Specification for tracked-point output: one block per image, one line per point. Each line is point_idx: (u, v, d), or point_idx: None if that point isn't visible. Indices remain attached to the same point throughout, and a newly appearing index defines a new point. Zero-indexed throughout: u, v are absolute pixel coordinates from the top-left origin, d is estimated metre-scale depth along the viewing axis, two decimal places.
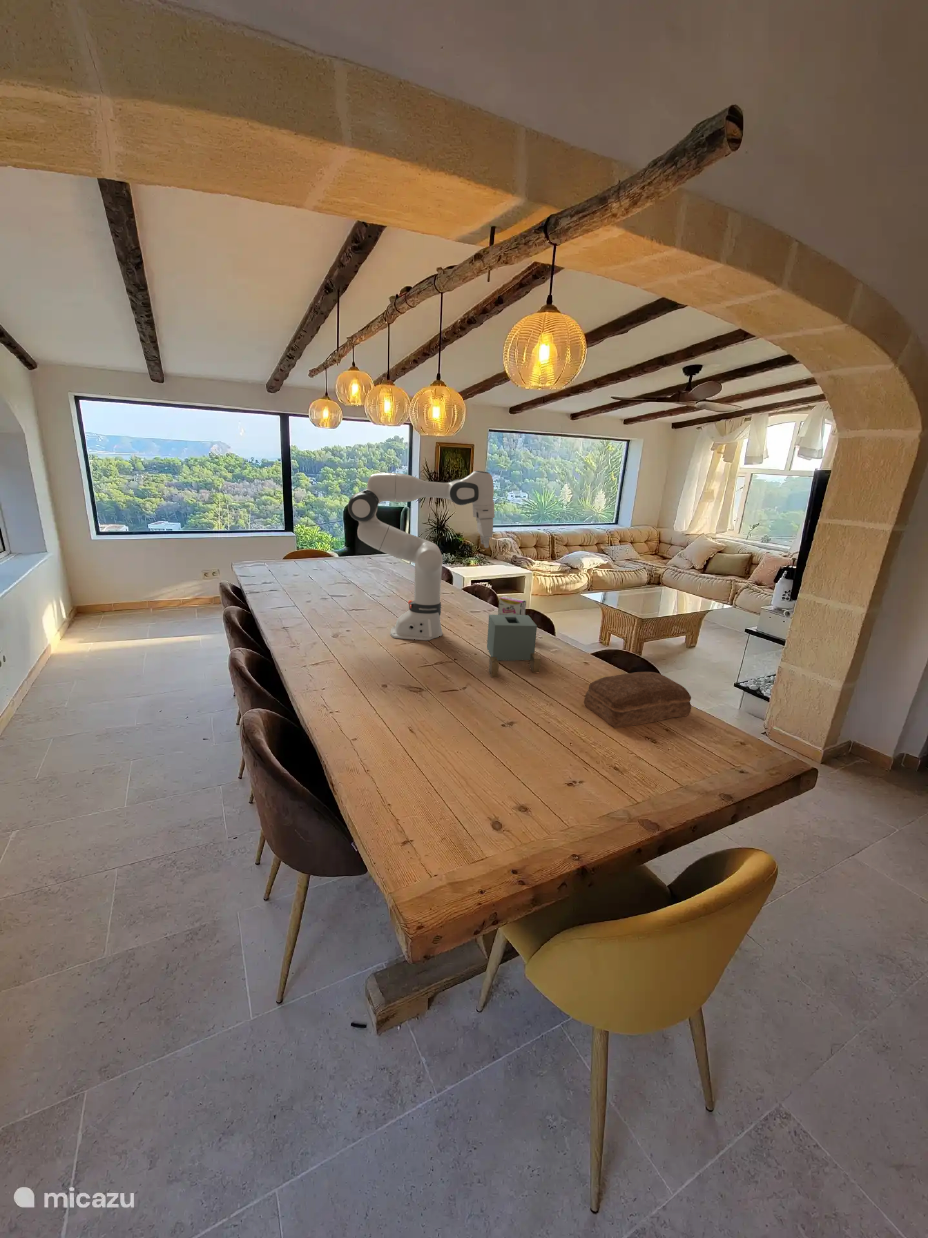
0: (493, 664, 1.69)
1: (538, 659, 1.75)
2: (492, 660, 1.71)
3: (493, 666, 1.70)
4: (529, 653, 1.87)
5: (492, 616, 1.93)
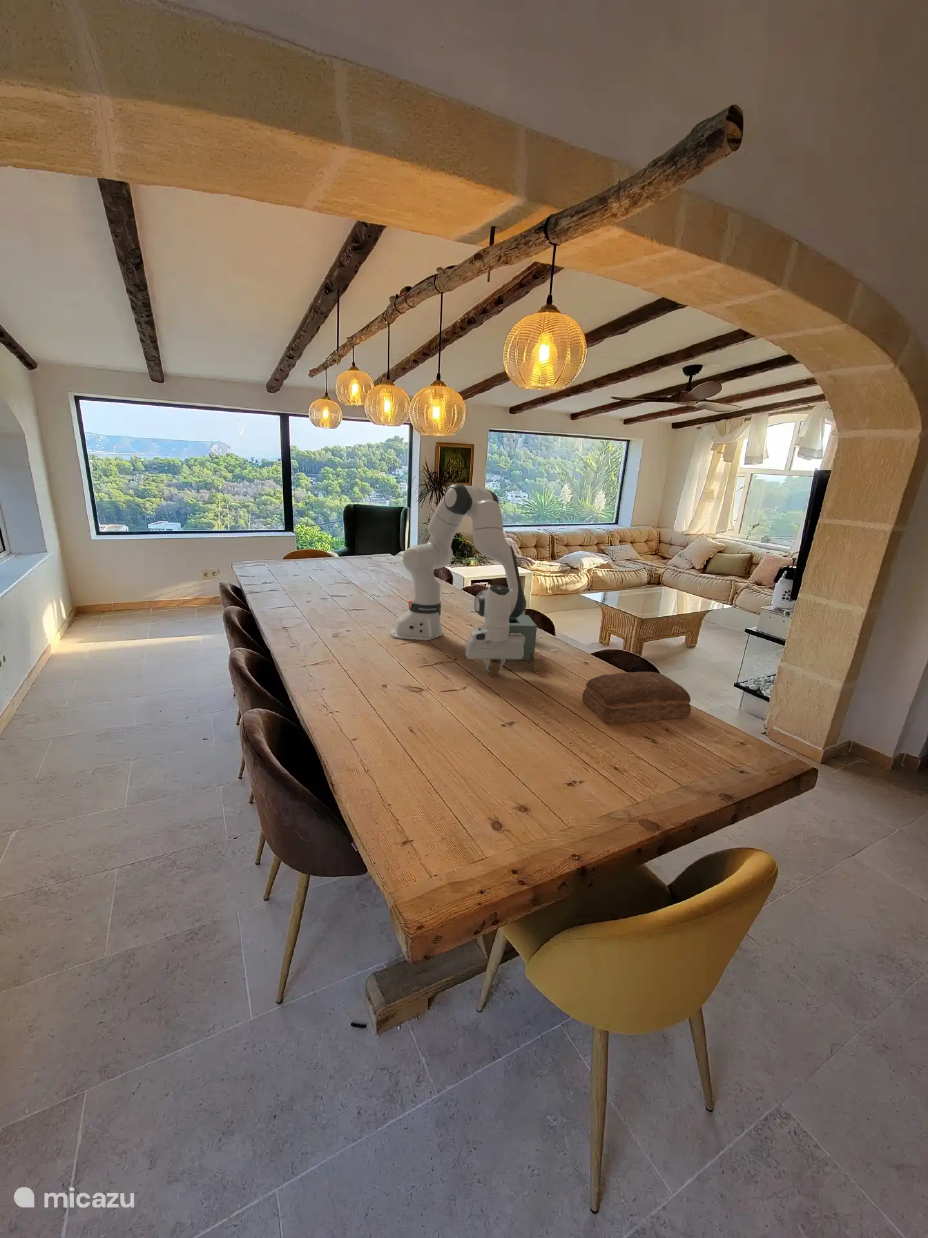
0: (493, 664, 1.69)
1: (538, 659, 1.75)
2: (492, 660, 1.71)
3: (493, 666, 1.70)
4: (529, 653, 1.87)
5: None
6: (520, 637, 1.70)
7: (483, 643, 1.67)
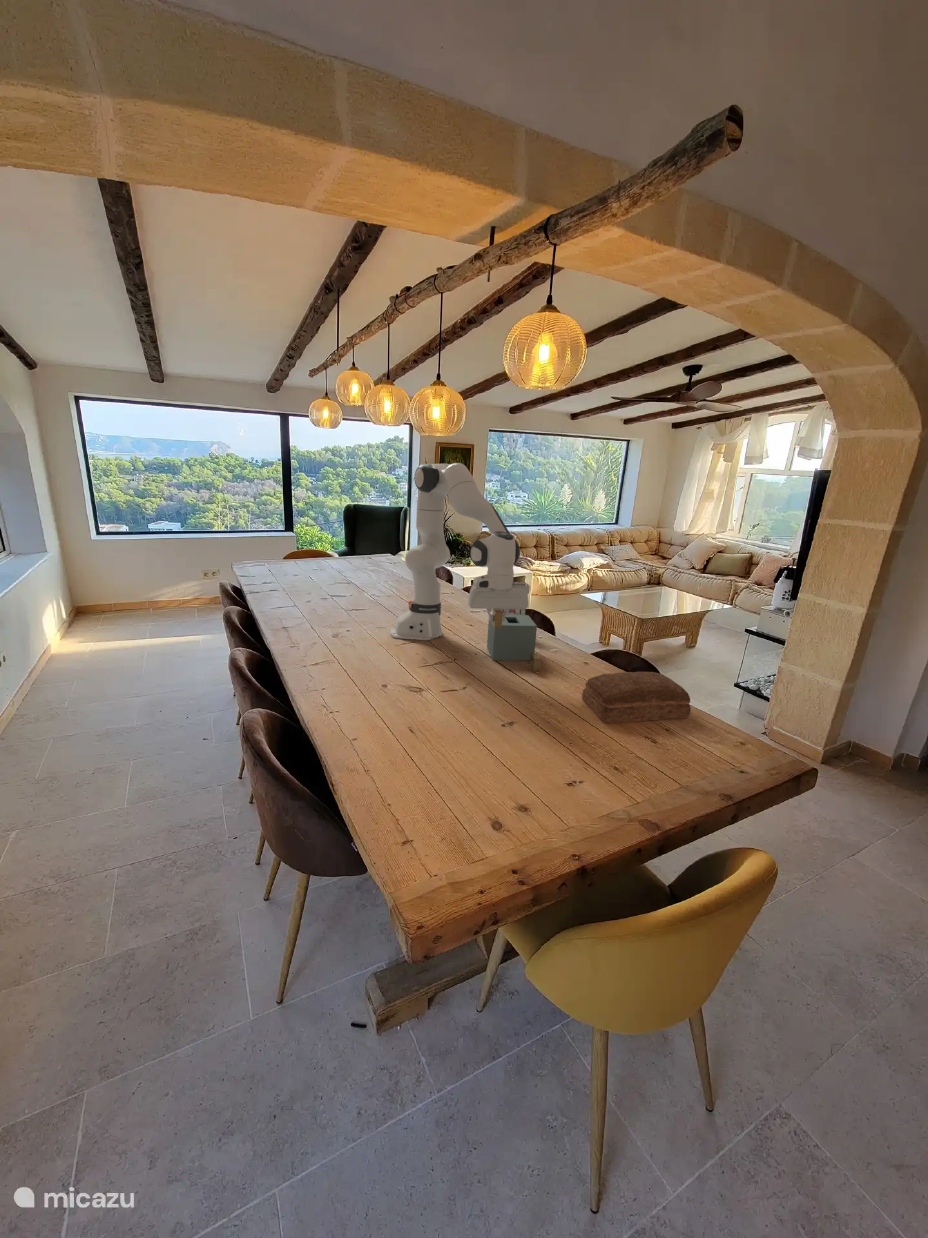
0: (496, 614, 1.64)
1: (538, 659, 1.75)
2: (495, 610, 1.66)
3: (496, 616, 1.64)
4: (529, 653, 1.87)
5: None
6: (524, 586, 1.65)
7: (486, 591, 1.62)
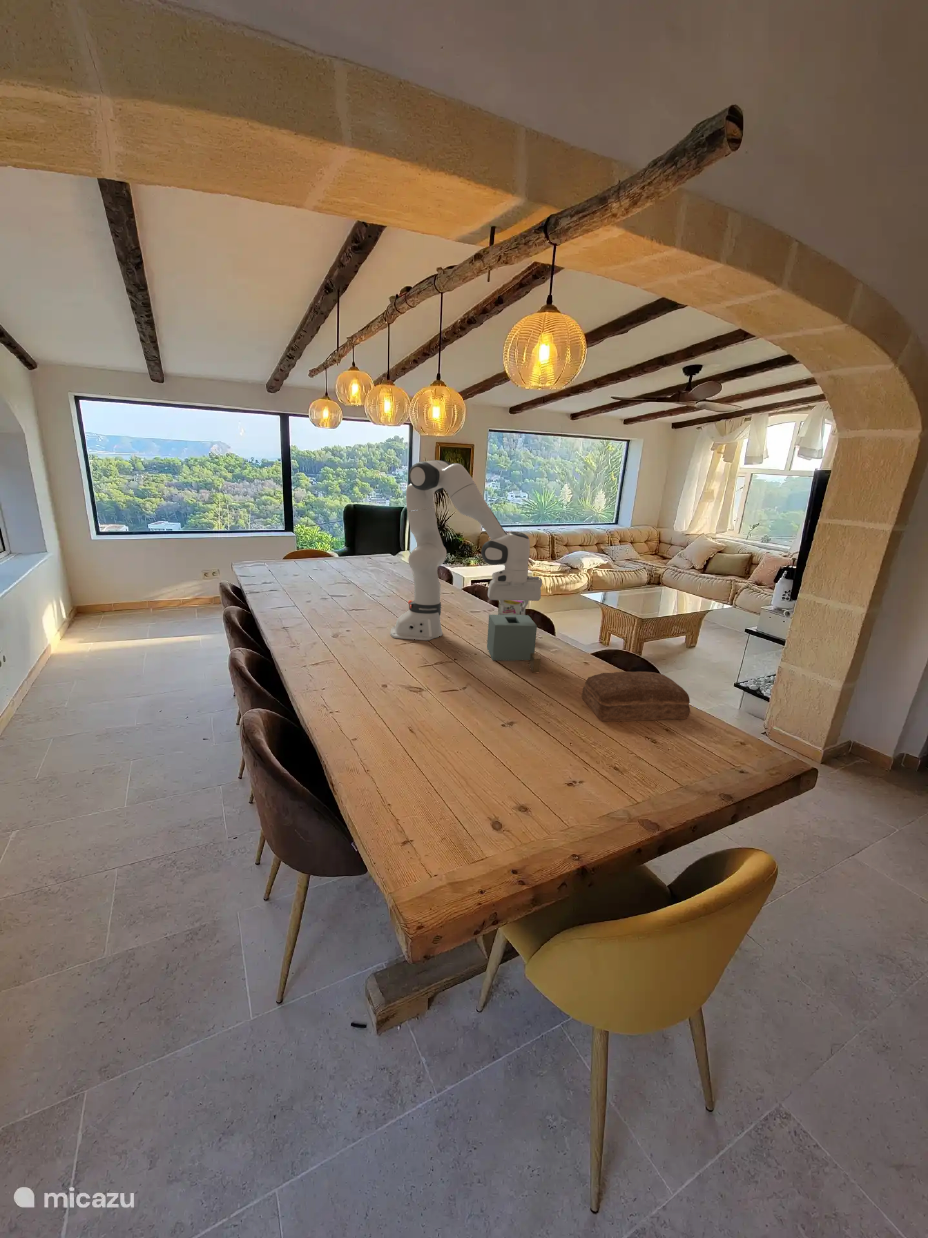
0: None
1: (538, 659, 1.75)
2: None
3: None
4: (529, 653, 1.87)
5: (492, 616, 1.93)
6: (538, 580, 1.86)
7: (504, 585, 1.83)
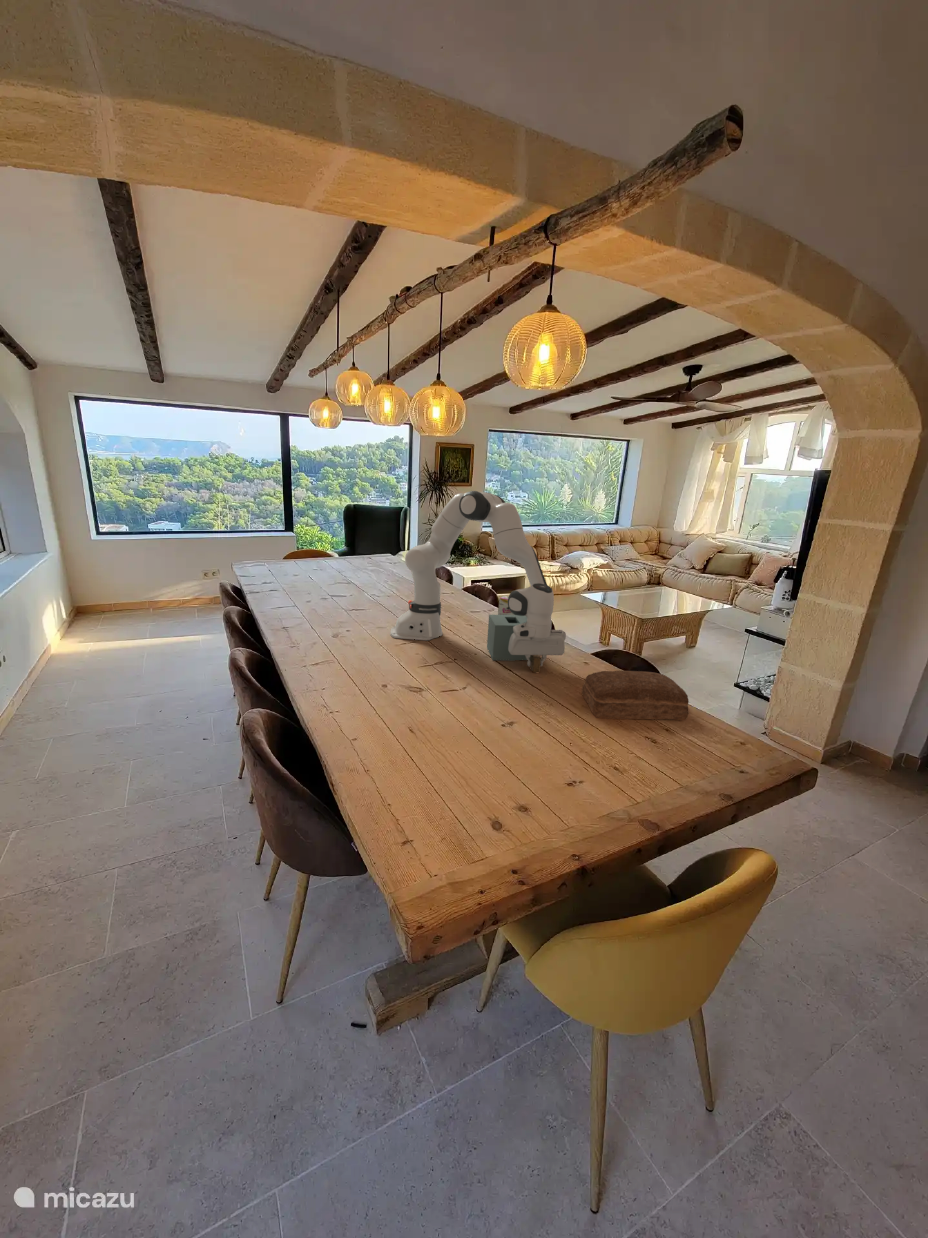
0: None
1: (538, 659, 1.75)
2: None
3: None
4: None
5: (492, 616, 1.93)
6: (561, 634, 1.76)
7: (526, 640, 1.73)
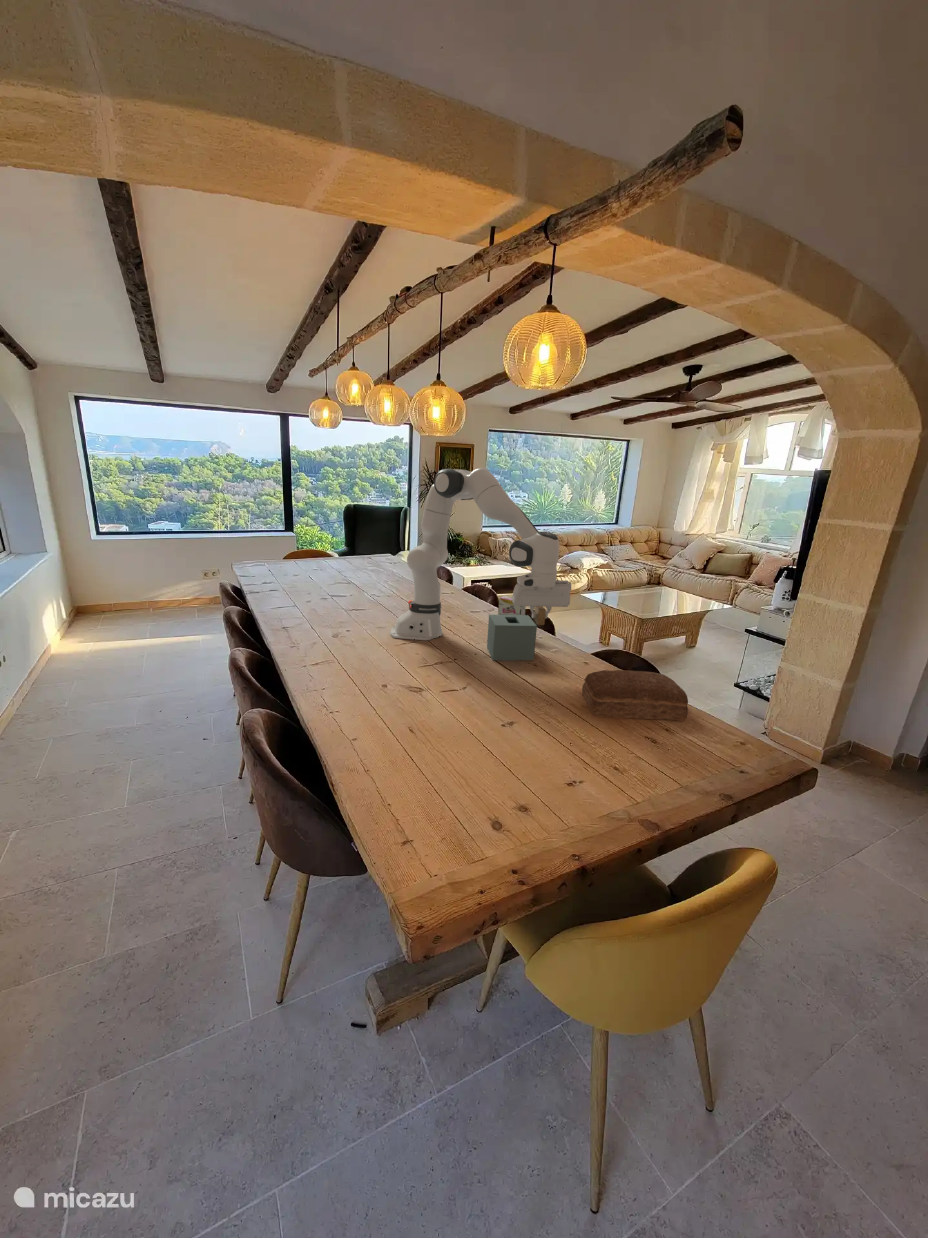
0: None
1: (543, 610, 1.70)
2: None
3: None
4: (529, 653, 1.87)
5: (492, 616, 1.93)
6: (567, 584, 1.71)
7: (530, 589, 1.68)
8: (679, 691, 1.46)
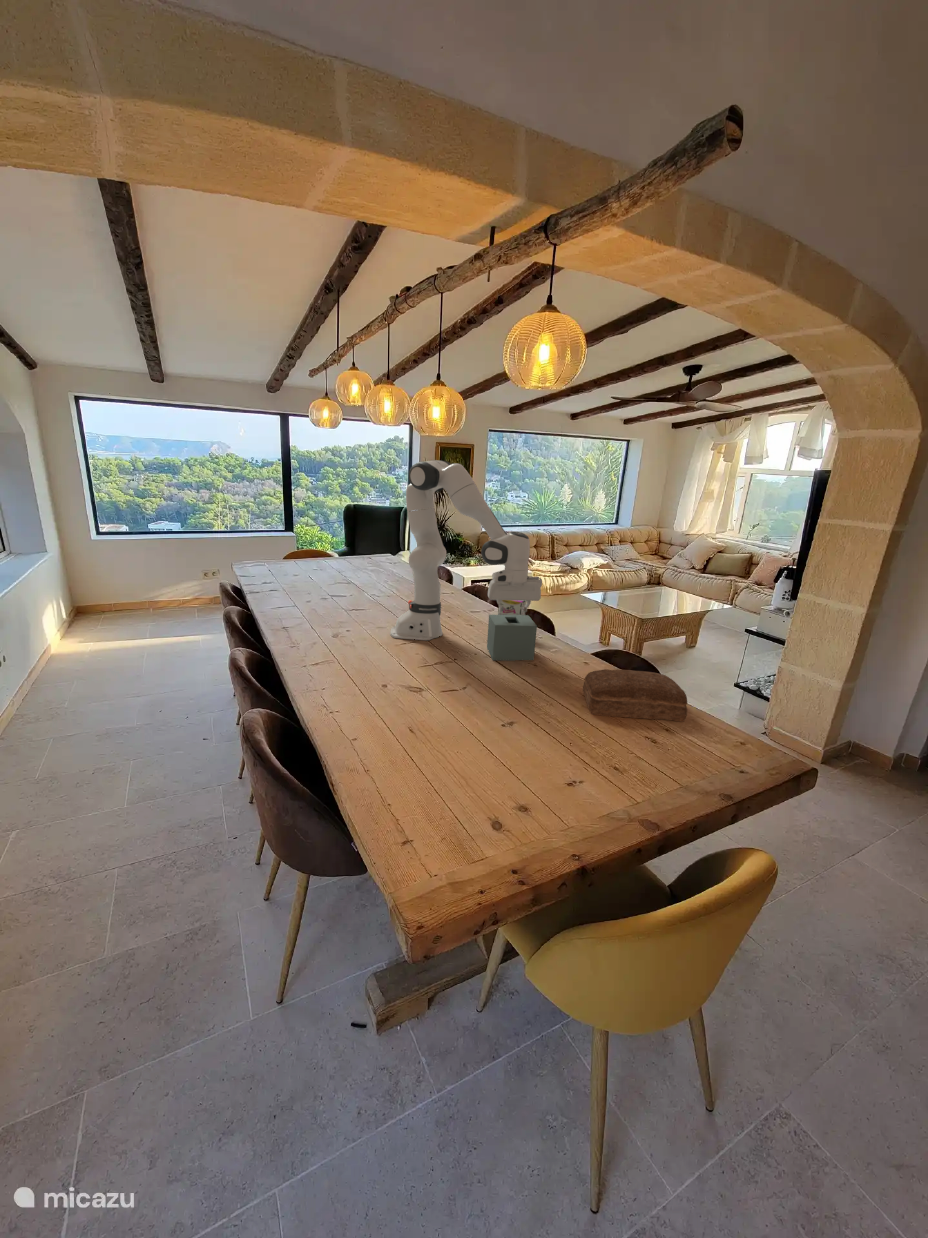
0: None
1: None
2: None
3: None
4: (529, 653, 1.87)
5: (492, 616, 1.93)
6: (538, 580, 1.86)
7: (504, 585, 1.83)
8: (678, 691, 1.45)
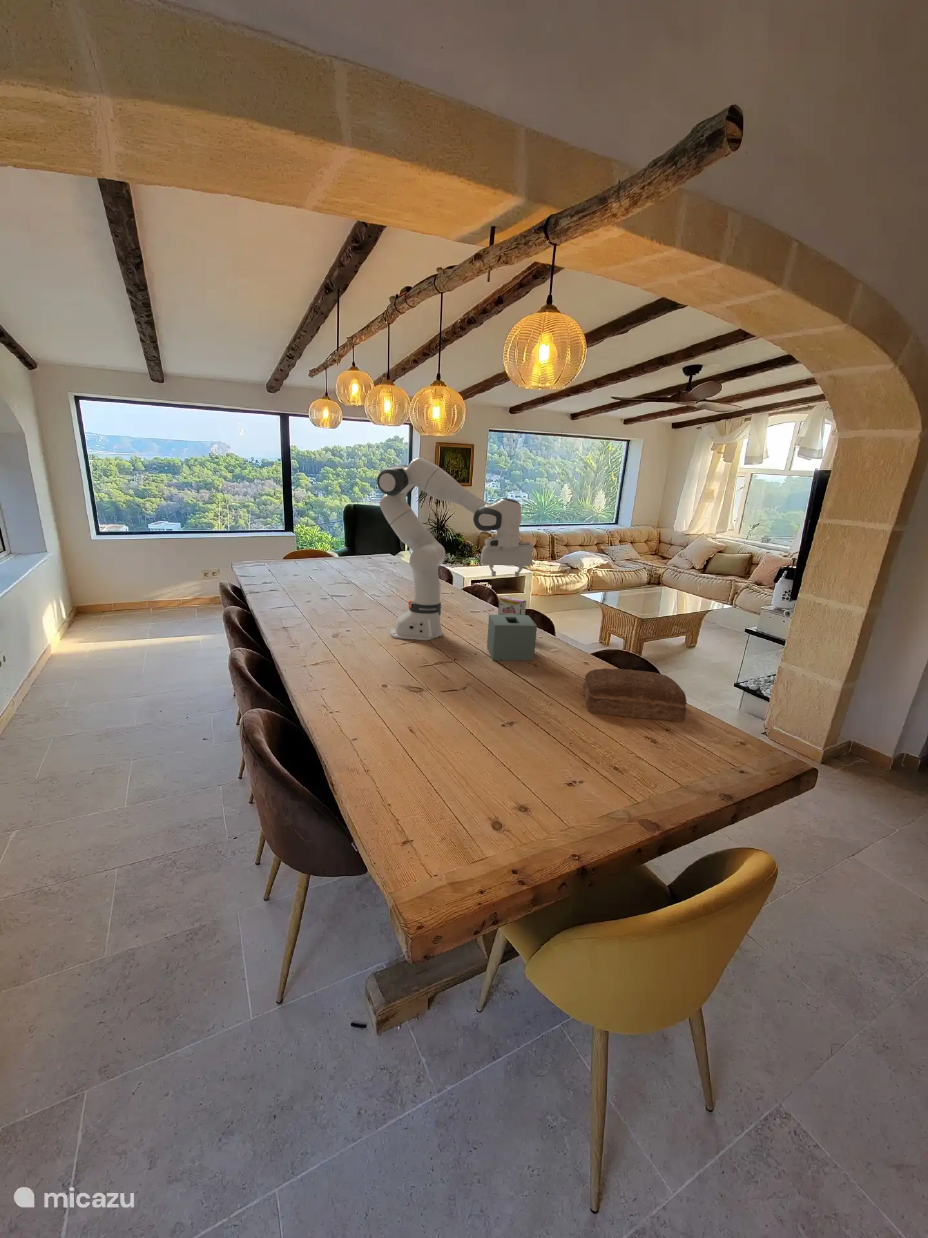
0: None
1: None
2: None
3: None
4: (529, 653, 1.87)
5: (492, 616, 1.93)
6: (529, 546, 1.92)
7: (496, 550, 1.89)
8: (677, 692, 1.45)
